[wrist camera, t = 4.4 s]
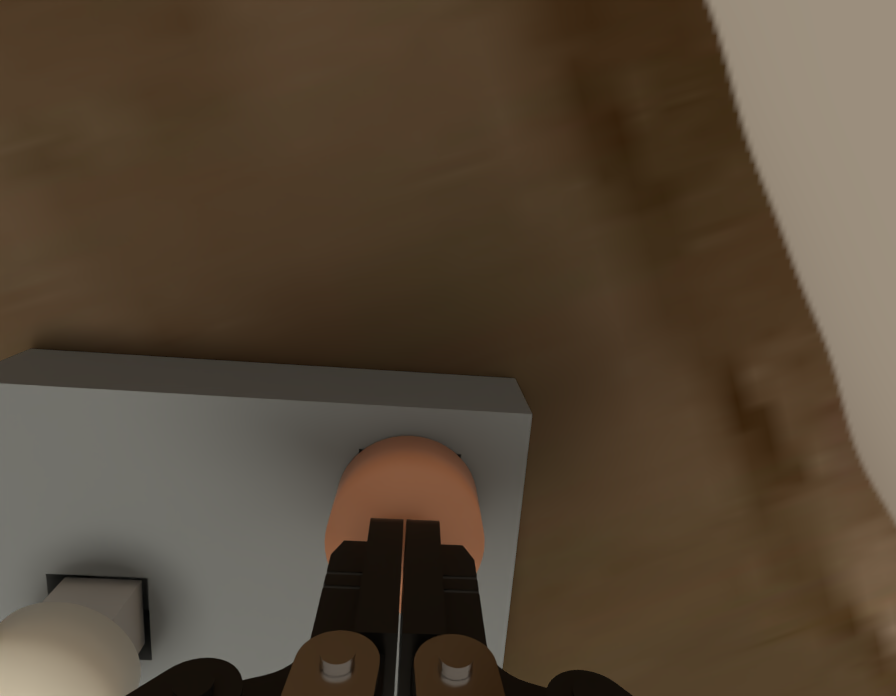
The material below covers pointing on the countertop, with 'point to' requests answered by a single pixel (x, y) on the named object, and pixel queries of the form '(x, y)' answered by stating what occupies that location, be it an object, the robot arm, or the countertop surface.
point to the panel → (227, 487)
